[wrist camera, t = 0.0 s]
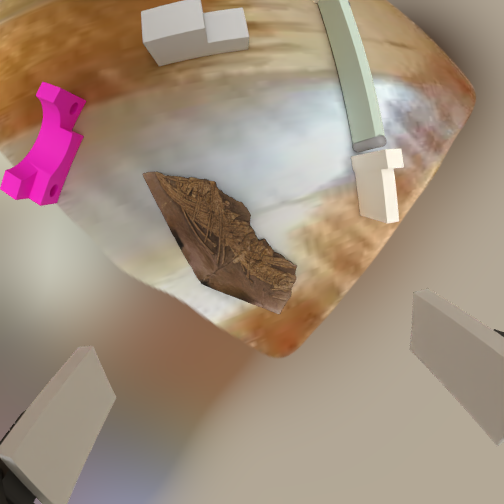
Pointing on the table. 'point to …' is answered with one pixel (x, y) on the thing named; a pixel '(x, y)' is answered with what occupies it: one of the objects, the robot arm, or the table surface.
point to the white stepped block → (192, 31)
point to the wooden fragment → (222, 241)
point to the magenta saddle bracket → (48, 149)
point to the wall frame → (377, 183)
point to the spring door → (353, 75)
